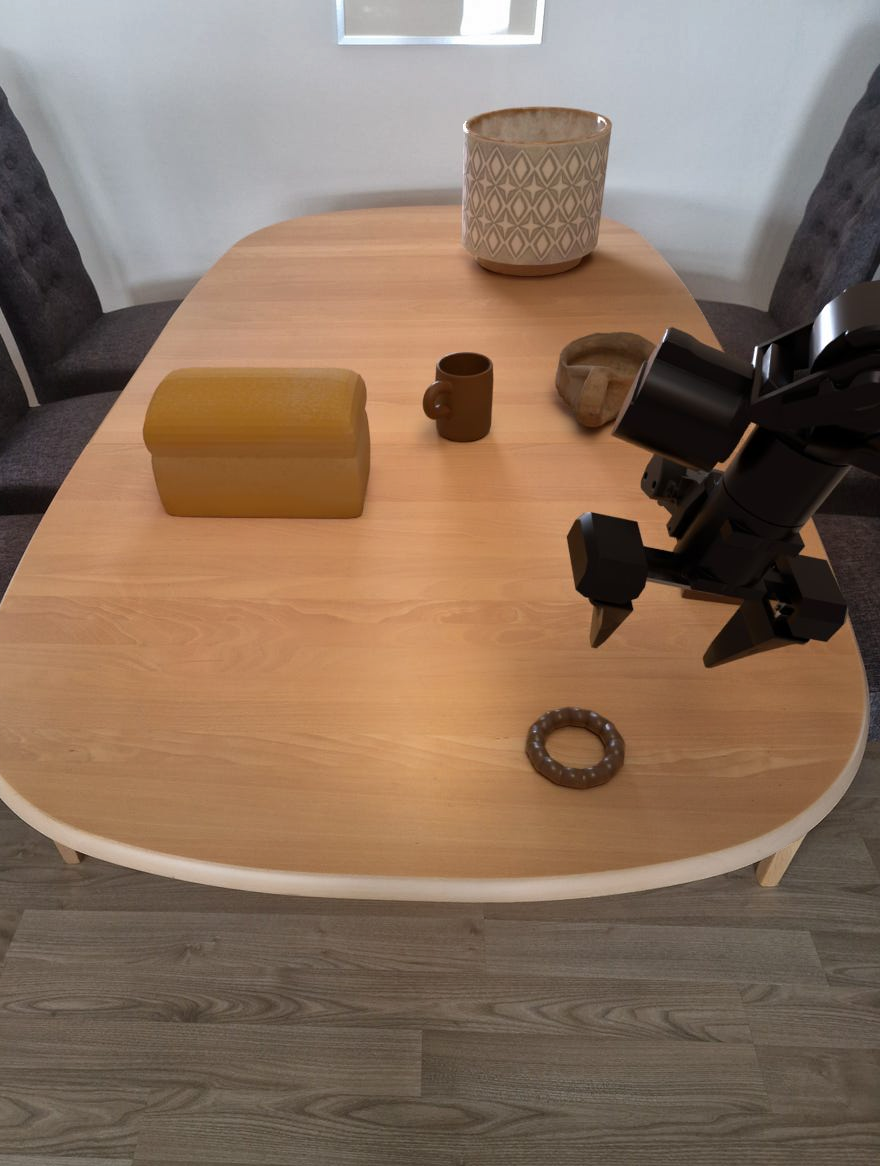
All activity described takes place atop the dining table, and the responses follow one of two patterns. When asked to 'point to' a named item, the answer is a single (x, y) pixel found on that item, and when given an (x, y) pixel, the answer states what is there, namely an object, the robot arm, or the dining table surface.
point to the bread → (260, 442)
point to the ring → (569, 774)
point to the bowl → (600, 373)
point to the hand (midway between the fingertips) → (649, 653)
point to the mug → (461, 396)
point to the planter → (533, 188)
